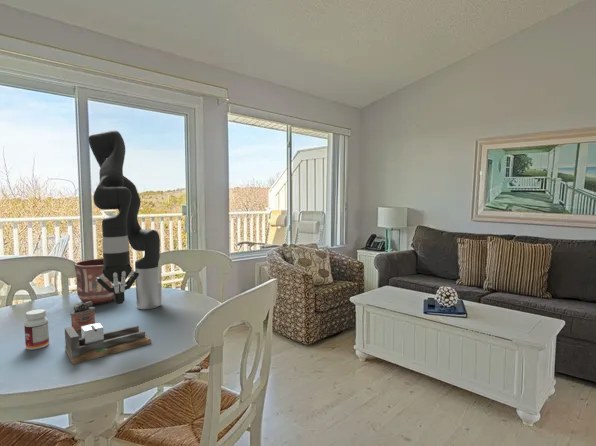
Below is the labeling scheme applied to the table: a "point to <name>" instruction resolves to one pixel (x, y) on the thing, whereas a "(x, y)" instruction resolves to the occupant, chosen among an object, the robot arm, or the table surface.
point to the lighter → (82, 316)
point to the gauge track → (103, 343)
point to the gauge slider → (92, 333)
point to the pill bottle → (36, 329)
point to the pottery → (92, 282)
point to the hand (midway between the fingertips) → (119, 303)
